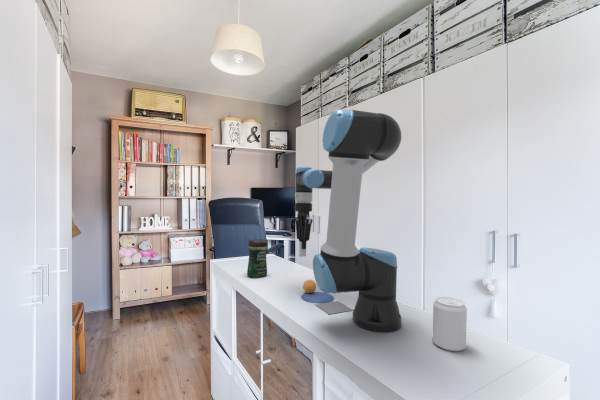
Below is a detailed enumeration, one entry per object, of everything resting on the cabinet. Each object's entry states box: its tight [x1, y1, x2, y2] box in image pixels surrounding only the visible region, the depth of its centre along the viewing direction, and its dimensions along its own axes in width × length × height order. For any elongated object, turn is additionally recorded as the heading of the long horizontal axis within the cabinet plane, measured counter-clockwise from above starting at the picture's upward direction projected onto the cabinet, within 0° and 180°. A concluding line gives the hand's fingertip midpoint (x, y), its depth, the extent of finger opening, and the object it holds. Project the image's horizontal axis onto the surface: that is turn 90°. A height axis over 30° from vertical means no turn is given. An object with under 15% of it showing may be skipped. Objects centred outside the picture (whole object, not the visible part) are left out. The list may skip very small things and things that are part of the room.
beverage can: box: [432, 296, 468, 352], centre depth 80 cm, size 8×8×12 cm
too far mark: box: [314, 300, 354, 316], centre depth 107 cm, size 10×10×1 cm
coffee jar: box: [246, 238, 269, 279], centre depth 148 cm, size 10×8×19 cm
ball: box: [302, 279, 317, 293], centre depth 123 cm, size 6×6×6 cm
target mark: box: [300, 291, 335, 304], centre depth 118 cm, size 13×13×1 cm
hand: (302, 256), depth 130 cm, fingers closed
